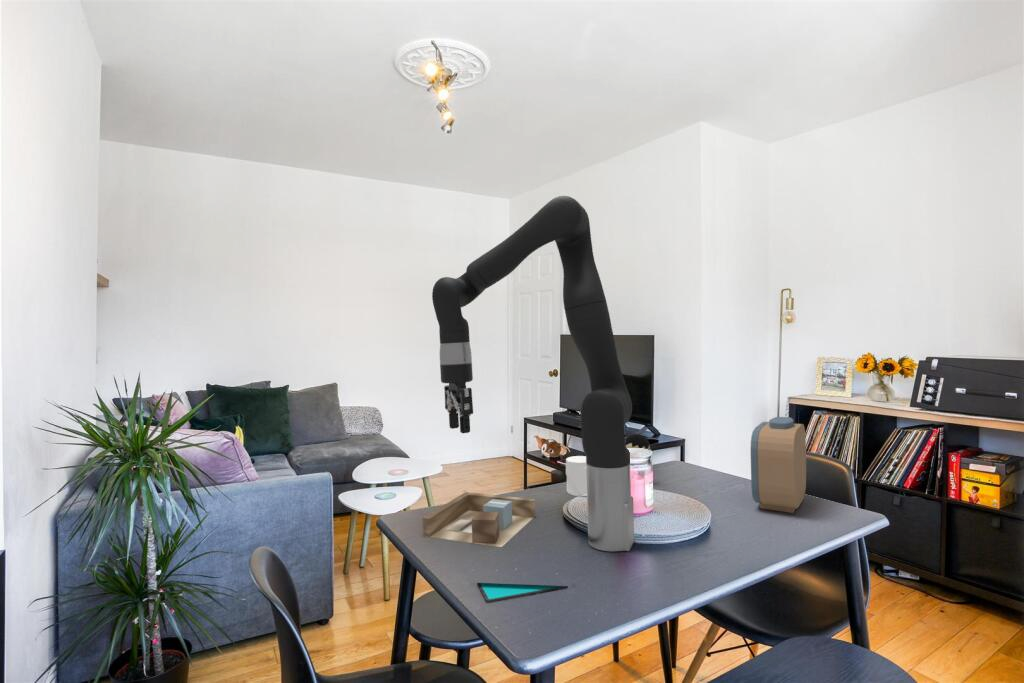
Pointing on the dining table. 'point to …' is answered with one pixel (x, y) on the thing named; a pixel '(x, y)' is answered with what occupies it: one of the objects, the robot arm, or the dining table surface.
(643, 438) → the toy
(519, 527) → the tray
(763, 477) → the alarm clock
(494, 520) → the walnut block
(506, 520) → the block
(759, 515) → the dining table surface
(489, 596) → the flat teal bar
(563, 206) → the robot arm
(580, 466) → the mug
